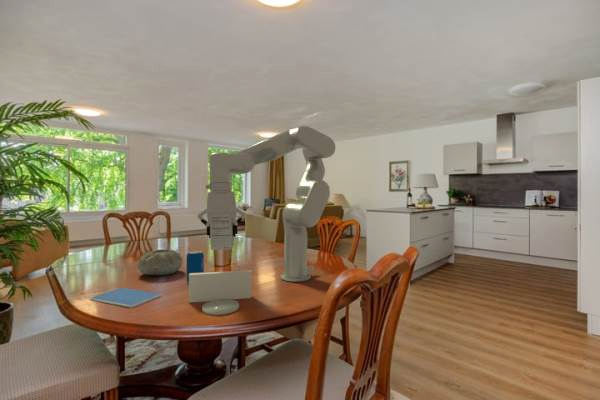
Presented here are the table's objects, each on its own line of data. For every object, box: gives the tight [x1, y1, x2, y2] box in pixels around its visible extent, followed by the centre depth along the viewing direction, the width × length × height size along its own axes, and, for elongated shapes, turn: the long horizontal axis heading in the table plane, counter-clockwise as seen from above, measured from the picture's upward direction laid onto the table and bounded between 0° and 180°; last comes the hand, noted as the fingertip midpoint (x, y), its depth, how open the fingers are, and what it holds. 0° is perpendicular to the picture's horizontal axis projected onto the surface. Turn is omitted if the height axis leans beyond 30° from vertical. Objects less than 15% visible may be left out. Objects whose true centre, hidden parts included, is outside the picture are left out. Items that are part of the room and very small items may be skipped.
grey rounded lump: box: [136, 248, 183, 276], centre depth 134 cm, size 18×18×10 cm
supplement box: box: [209, 214, 235, 251], centre depth 111 cm, size 7×7×13 cm
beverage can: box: [186, 250, 205, 284], centre depth 122 cm, size 6×6×12 cm
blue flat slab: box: [89, 287, 162, 309], centre depth 104 cm, size 19×13×1 cm, turn 69°
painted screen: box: [188, 269, 252, 304], centre depth 103 cm, size 20×2×9 cm, turn 104°
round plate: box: [201, 299, 240, 316], centre depth 96 cm, size 11×11×1 cm
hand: (222, 236), depth 111 cm, fingers closed on supplement box, 8 cm apart
